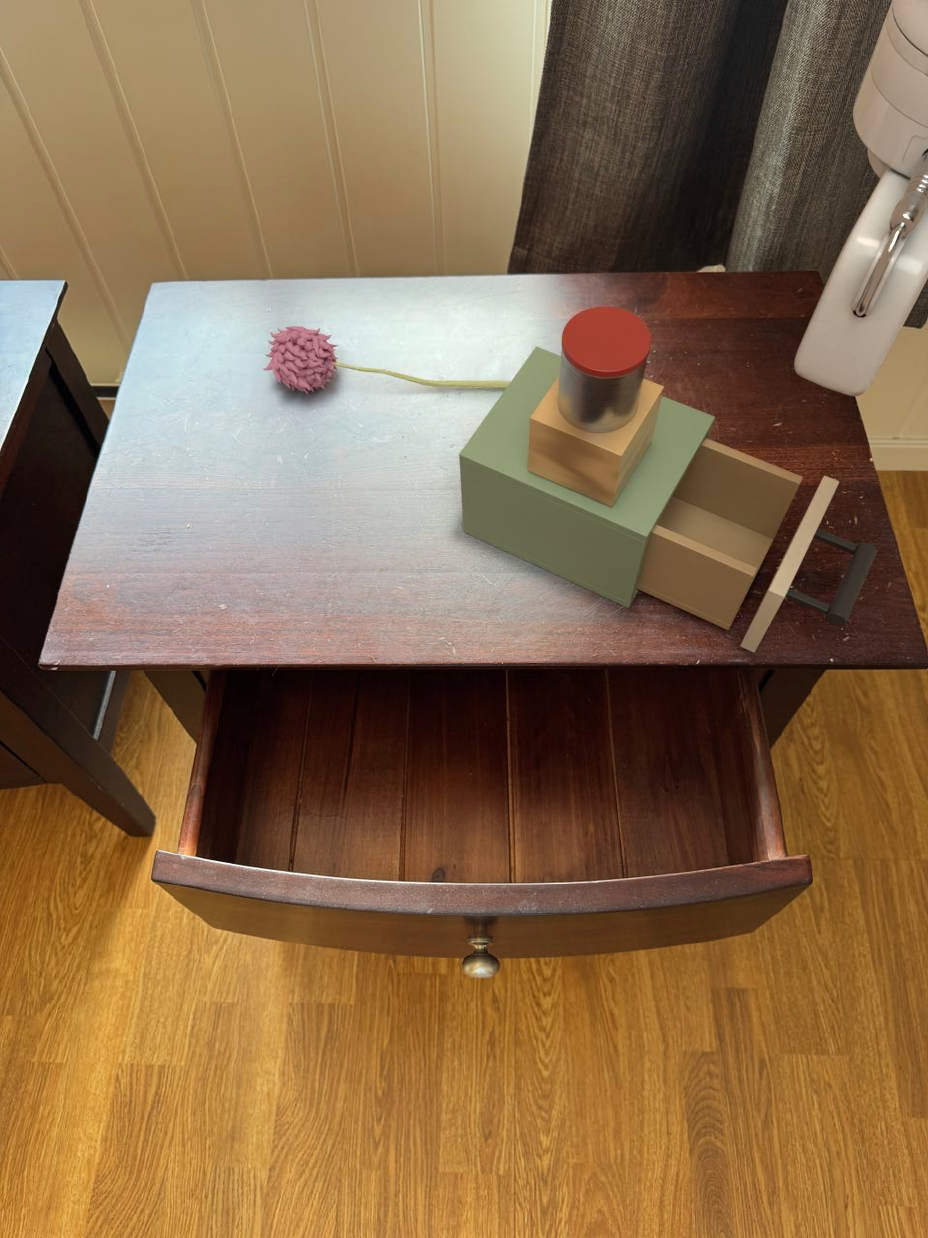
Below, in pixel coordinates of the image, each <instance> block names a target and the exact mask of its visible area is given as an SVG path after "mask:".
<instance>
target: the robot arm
mask: <svg viewBox="0 0 928 1238" xmlns="http://www.w3.org/2000/svg"><path fill="white" fill-rule="evenodd" d="M852 118H853V125H854V127H855V131H856V133H857V135H858V137H859V139H860V141H861V142H862V143H863V145H864V146H865V147H866V148H867V159H868V161H869V164H870V166H871V168H872V170H873V171H874V173H875V174H876V175H877V177H878V178H879V180H878V182H877V184H876V186H875V187H874V189H873V191H872V192H871V194H870V197H869V198H868V200H867V202H866V204H865V206H864V207H863V209H862V211H861V213H860V214H859V216H858V218H857V220H856V221H855V223H854V225H853V227H852V229H851V230H850V233H849V234H848V236H847V238H846V241H844V244H843V246H842V248H841V250H840V252H839V255H838V257H837V259H836V261H835V263H834V266H833V267H832V270H831V272H830V274H829V276H828V279H827V281H826V283H825V286H824V288H823V290H822V292H821V295H820V297H819V299H818V301H817V304H816V306H815V308H814V311H813V313H812V316H811V318H810V320H809V322H808V324H807V327H806V329H805V332H804V333H803V337H802V339H801V341H800V343H799V346H798V348H797V351H796V354H795V356H794V362H793V369H794V371H795V374H797V375H798V376H800V377H801V378H803V379H805V380H807V381H809V382H812V383H814V384H816V385H818V386H821V387H823V388H825V389H828V390H832V391H834V392H837V393H840V394H843V395H847V396H849V397H860V396H861V395H864V394H865V393H866V392H867V391H868V390H869V389H870V387H872V385H873V383H874V381H875V380H876V378H877V376H878V374H879V372H880V371H881V368H882V367H883V365H884V363H885V361H886V359H887V357H888V355H889V353H890V352H891V349H892V347H893V346H894V343H895V342H896V340H897V338H898V336H899V334H900V333H901V331H902V329H903V327H904V325H905V323H906V322H907V319H908V317H909V315H910V313H911V312H912V310H913V308H914V306H915V304H916V302H917V300H918V298H919V296H920V294H921V292H922V290H923V288H924V286H925V284H926V282H927V281H928V0H891V2H890V5H889V8H888V11H887V13H886V16H885V19H884V22H883V24H882V27H881V29H880V32H879V35H878V37H877V40H876V43H875V46H874V48H873V51H872V54H871V57H870V60H869V63H868V65H867V68H866V70H865V73H864V75H863V78H862V81H861V84H860V86H859V89H858V92H857V95H856V98H855V100H854V103H853V109H852Z"/></svg>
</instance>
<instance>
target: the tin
mask: <svg viewBox="0 0 928 1238" xmlns="http://www.w3.org/2000/svg"><path fill="white" fill-rule="evenodd" d="M651 347H652V336H651V332H650V329H649V328H648V326H647V324H646V323H645V322H644V320H642V319H641V318H640V317H639V316H637V315H636V314H634V313H633V312H631V311H629V310H626V309H623V308H620V307H615V306H594V307H591V308H587V309H583V310H582V311H580V312H578V313H576V314H574V315H573V316H572V317H571V318H570V319H569V320H568V321H567V322H566V324H565V326H564V327H563V330H562V333H561V351H560V356H561V363H560V375H559V386H558V398H557V403H558V408H559V411H560V412H561V414H562V416H563V417H564V418H565V419H566V420H567V421H568V422H569V423H570V424H571V425H573V426H575V427H576V428H578V429H581V430H584V431H587V432H593V433H606V432H611V431H615V430H618V429H620V428H622V427H624V426H625V425H626V424H628V423H629V422H630V421H631V420H632V419H633V417H634V416H635V414H636V412H637V409H638V404H639V399H640V394H641V389H642V384H643V379H645V378H644V377H645V373H646V369H647V362H648V358H649V355H650V351H651Z"/></svg>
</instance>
